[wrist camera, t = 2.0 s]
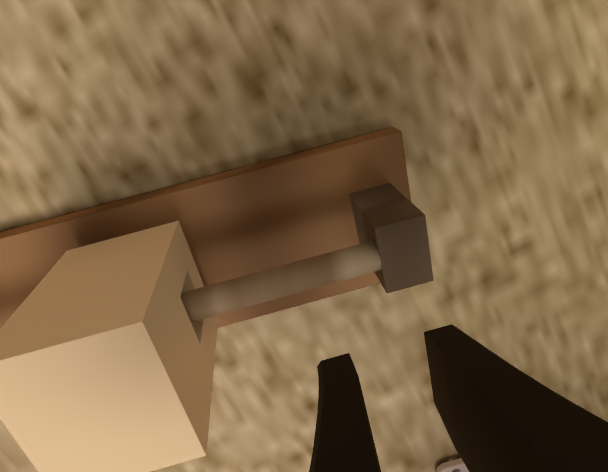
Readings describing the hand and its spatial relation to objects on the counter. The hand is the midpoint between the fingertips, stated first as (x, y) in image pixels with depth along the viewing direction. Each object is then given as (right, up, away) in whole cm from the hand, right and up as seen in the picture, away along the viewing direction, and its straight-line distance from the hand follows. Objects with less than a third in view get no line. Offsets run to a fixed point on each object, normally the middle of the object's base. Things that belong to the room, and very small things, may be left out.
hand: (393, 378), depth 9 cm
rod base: (-9, +2, +8) cm, 12 cm away
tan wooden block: (-8, +1, +7) cm, 10 cm away
